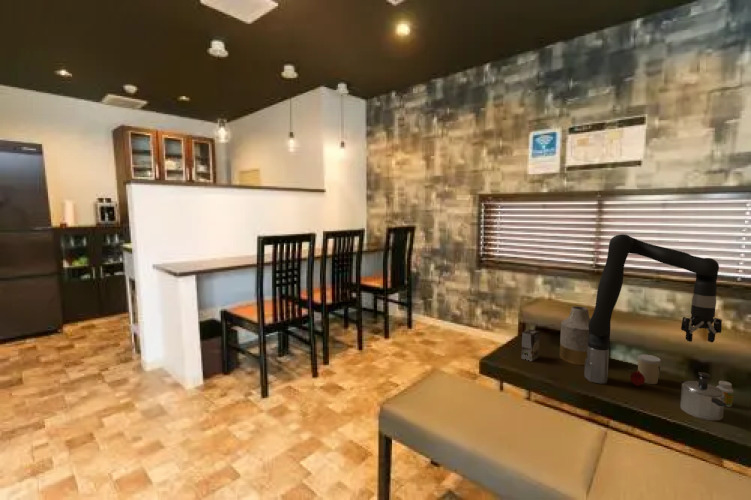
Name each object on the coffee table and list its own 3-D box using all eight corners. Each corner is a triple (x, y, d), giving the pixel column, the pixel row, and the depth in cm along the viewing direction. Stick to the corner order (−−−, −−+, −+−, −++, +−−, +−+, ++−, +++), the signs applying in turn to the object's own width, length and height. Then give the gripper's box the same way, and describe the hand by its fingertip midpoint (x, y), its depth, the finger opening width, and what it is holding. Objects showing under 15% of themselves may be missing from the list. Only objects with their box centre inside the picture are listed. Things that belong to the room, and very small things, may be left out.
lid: (699, 396, 144) (700, 380, 143) (676, 382, 156) (677, 367, 155) (730, 397, 143) (732, 381, 142) (705, 382, 155) (706, 368, 154)
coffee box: (531, 362, 202) (532, 335, 201) (521, 358, 207) (521, 332, 205) (538, 357, 209) (539, 331, 207) (528, 354, 213) (528, 328, 212)
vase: (557, 360, 204) (559, 309, 200) (561, 350, 219) (563, 302, 215) (594, 368, 193) (597, 314, 190) (596, 356, 208) (599, 306, 205)
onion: (645, 389, 169) (646, 374, 168) (630, 387, 172) (631, 371, 171) (643, 384, 174) (644, 369, 173) (629, 382, 177) (630, 366, 176)
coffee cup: (663, 385, 173) (665, 362, 172) (642, 384, 175) (643, 360, 174) (653, 377, 182) (654, 354, 181) (632, 375, 184) (634, 353, 183)
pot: (738, 425, 140) (740, 401, 139) (703, 424, 141) (705, 400, 140) (698, 400, 159) (700, 379, 158) (667, 399, 160) (669, 378, 159)
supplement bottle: (728, 408, 153) (730, 386, 152) (712, 402, 158) (714, 381, 157) (734, 405, 155) (736, 384, 154) (718, 399, 160) (720, 379, 159)
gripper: (692, 306, 147) (688, 344, 149) (729, 307, 146) (725, 345, 148) (678, 302, 155) (675, 337, 156) (714, 302, 153) (710, 338, 155)
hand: (699, 341), depth 152 cm, fingers open, 8 cm apart
